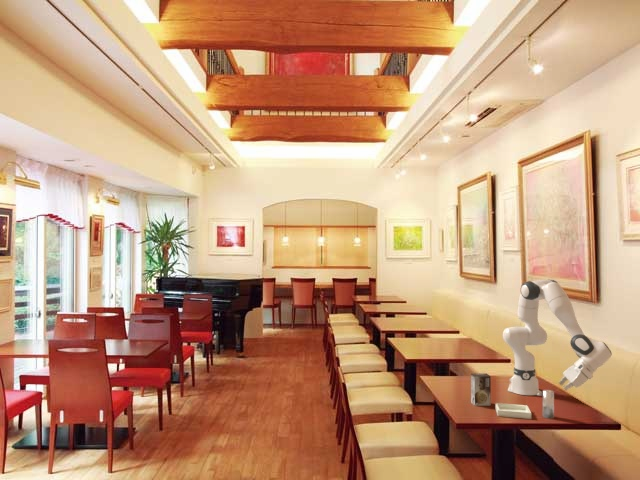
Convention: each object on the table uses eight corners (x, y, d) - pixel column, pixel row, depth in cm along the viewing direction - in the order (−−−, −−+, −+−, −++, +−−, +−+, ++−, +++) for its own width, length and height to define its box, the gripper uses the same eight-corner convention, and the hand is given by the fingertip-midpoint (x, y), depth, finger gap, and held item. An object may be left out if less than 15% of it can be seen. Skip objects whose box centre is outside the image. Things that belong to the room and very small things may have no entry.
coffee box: (486, 402, 281) (486, 373, 281) (491, 405, 274) (491, 376, 275) (470, 402, 280) (470, 373, 281) (474, 405, 274) (474, 376, 274)
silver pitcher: (535, 414, 261) (535, 389, 261) (552, 415, 259) (552, 390, 259) (537, 417, 256) (537, 391, 256) (554, 419, 254) (554, 393, 254)
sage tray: (495, 408, 270) (495, 402, 270) (527, 411, 266) (527, 405, 266) (497, 416, 257) (497, 410, 257) (531, 419, 253) (531, 413, 254)
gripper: (573, 359, 264) (552, 376, 267) (583, 368, 245) (561, 387, 247) (582, 368, 263) (562, 385, 265) (593, 378, 243) (571, 396, 246)
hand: (561, 386), depth 256 cm, fingers open, 8 cm apart
